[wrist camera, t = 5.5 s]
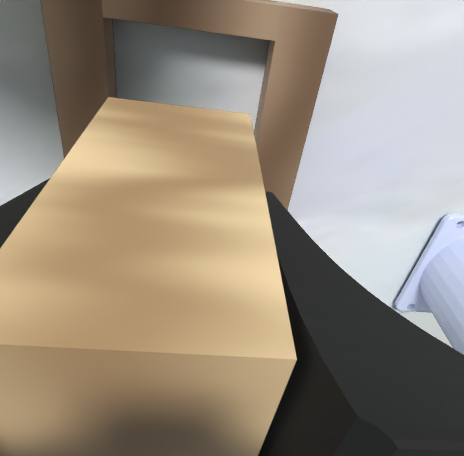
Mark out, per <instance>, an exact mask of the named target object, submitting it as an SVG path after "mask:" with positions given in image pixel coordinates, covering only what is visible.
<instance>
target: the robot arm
mask: <svg viewBox="0 0 464 456" xmlns="http://www.w3.org/2000/svg"><path fill="white" fill-rule="evenodd" d="M49 180H50V179H48V180H46V181H44V182H42V183H41V184H39V185H37V186H35V187H33V188H32V189H30V190H28V191H26V192H25V193H23V194H21V195H19V196H17V197H16V198H14V199H12V200H10V201H9V202H7V203H5V204H3V205H1V206H0V248H1V247H2V245H3V244H4V243H5V241H6V240H7V238H8V237H9V236H10V234H11V233H12V231H13V230H14V229H15V227H16V226H17V224H18V223H19V222H20V220H21V219H22V217H23V216H24V215H25V213H26V212H27V210H28V209H29V208H30V206H31V205H32V203H33V202H34V201H35V199H36V198H37V196H38V195H39V194H40V192H41V191H42V189H43V188H44V187H45V185H46V184H47V182H48V181H49ZM265 194H266V199H267V205H268V210H269V215H270V220H271V226H272V231H273V236H274V241H275V247H276V252H277V257H278V263H279V268H280V273H281V278H282V284H283V289H284V294H285V299H286V305H287V310H288V315H289V320H290V326H291V331H292V336H293V341H294V347H295V352H296V357H297V361H296V363H295V365H294V368H293V370H292V373H291V375H290V378H289V380H288V383H287V385H286V388H285V390H284V393H283V395H282V398H281V400H280V402H279V405H278V407H277V410H276V412H275V415H274V417H273V420H272V422H271V425H270V427H269V430H268V432H267V434H266V437H265V439H264V442H263V444H262V447H261V449H260V452H259V454H258V456H464V214H448V215H446V216H445V217H443V219H442V220H441V222H440V223H439V225H438V227H437V229H436V231H435V232H434V234H433V236H432V238H431V239H430V241H429V243H428V245H427V246H426V248H425V250H424V252H423V254H422V255H421V257H420V259H419V261H418V262H417V264H416V266H415V268H414V269H413V271H412V273H411V275H410V277H409V278H408V280H407V282H406V284H405V285H404V287H403V289H402V291H401V293H400V294H399V296H398V298H397V300H396V301H395V306H396V308H397V309H398V310H401V311H416V312H432V313H433V315H434V317H435V318H436V320H437V322H438V323H439V325H440V327H441V328H442V330H443V332H444V333H445V335H446V337H447V339H448V340H449V342H450V344H451V345H452V347H453V348H451V347H450V346H448V345H447V344H445V343H443V342H442V341H440V340H438V339H437V338H435V337H433V336H432V335H430V334H428V333H427V332H425V331H424V330H422V329H420V328H419V327H418V326H416V325H414V324H413V323H411V322H410V321H409V320H407V319H406V318H404V317H403V316H401V315H400V314H399V313H397V312H396V311H394V310H393V309H392V308H390V307H389V306H387V305H386V304H385V303H383V302H382V301H380V300H379V299H378V298H377V297H375V296H374V295H373V294H371V293H370V292H369V291H367V290H366V289H365V288H364V287H363V286H361V285H360V284H359V283H358V282H357V281H355V280H354V279H353V278H352V277H351V276H349V275H348V274H347V273H346V272H345V271H344V270H343V269H341V268H340V267H339V266H338V265H337V264H336V263H335V262H334V261H333V260H332V259H331V258H330V257H329V256H328V255H327V254H326V253H325V252H324V251H323V250H322V249H321V248H320V247H319V246H318V245H317V244H316V243H315V242H314V241H313V240H312V239H311V238H310V237H309V235H308V234H307V233H306V232H305V231H304V230H303V229H302V228H301V226H300V225H299V224H298V223H297V222H296V221H295V219H294V218H293V217H292V216H291V215H290V213H289V212H288V211H287V210H286V208H285V207H284V206H283V205H282V204H281V202H280V201H279V200H278V199H277V197H276V196H275V195H274V194H273V193H272V192H266V191H265ZM460 221H461V222H460ZM458 222H460V223H459V224H457V223H458Z"/></svg>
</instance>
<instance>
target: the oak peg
mask: <svg viewBox="0 0 464 456" xmlns="http://www.w3.org/2000/svg"><path fill="white" fill-rule="evenodd" d="M296 361H297V357H296V352H295V347H294V341H293V336H292V331H291V326H290V320H289V315H288V310H287V305H286V299H285V294H284V289H283V284H282V278H281V273H280V268H279V263H278V257H277V252H276V247H275V241H274V236H273V231H272V226H271V220H270V215H269V210H268V205H267V199H266V194H265V189H264V184H263V178H262V173H261V168H260V163H259V157H258V152H257V147H256V142H255V136H254V131H253V126H252V121H251V115H250V114H246V113H238V112H229V111H221V110H212V109H204V108H196V107H187V106H179V105H171V104H162V103H154V102H145V101H137V100H129V99H120V98H112V97H108V98H107V100H106V101H105V102H104V104H103V105H102V107H101V108H100V109H99V111H98V112H97V114H96V115H95V116H94V118H93V119H92V121H91V122H90V123H89V125H88V126H87V128H86V129H85V131H84V132H83V133H82V135H81V136H80V138H79V139H78V140H77V142H76V143H75V145H74V146H73V147H72V149H71V150H70V152H69V153H68V154H67V156H66V157H65V159H64V160H63V161H62V163H61V164H60V166H59V167H58V168H57V170H56V171H55V173H54V174H53V175H52V177H51V178H50V180H49V181H48V182H47V184H46V185H45V187H44V188H43V189H42V191H41V192H40V194H39V195H38V196H37V198H36V199H35V201H34V202H33V203H32V205H31V206H30V208H29V209H28V210H27V212H26V213H25V215H24V216H23V217H22V219H21V220H20V222H19V223H18V224H17V226H16V227H15V229H14V230H13V231H12V233H11V234H10V236H9V237H8V238H7V240H6V241H5V243H4V244H3V245H2V247H1V248H0V456H258V454H259V452H260V449H261V447H262V444H263V442H264V439H265V437H266V434H267V432H268V430H269V427H270V425H271V422H272V420H273V417H274V415H275V412H276V410H277V407H278V405H279V402H280V400H281V398H282V395H283V393H284V390H285V388H286V385H287V383H288V380H289V378H290V375H291V373H292V370H293V368H294V365H295V363H296Z"/></svg>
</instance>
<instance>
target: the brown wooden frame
mask: <svg viewBox="0 0 464 456" xmlns="http://www.w3.org/2000/svg"><path fill="white" fill-rule="evenodd" d="M40 1H41V7H42V14H43V21H44V27H45V34H46V41H47V47H48V54H49V61H50V67H51V74H52V80H53V87H54V94H55V100H56V107H57V114H58V120H59V127H60V134H61V140H62V147H63V153H64V159H65V157H66V156H67V154H68V153H69V152H70V150H71V149H72V147H73V146H74V145H75V143H76V142H77V140H78V139H79V138H80V136H81V135H82V133H83V132H84V131H85V129H86V128H87V126H88V125H89V123H90V122H91V121H92V119H93V118H94V116H95V115H96V114H97V112H98V111H99V109H100V108H101V107H102V105H103V104H104V102H105V101H106V100H107V98H108V97H112V98H117V95H116V77H115V58H114V40H113V21H112V19H120V20H127V21H134V22H142V23H149V24H156V25H163V26H171V27H178V28H185V29H192V30H200V31H207V32H214V33H221V34H229V35H236V36H243V37H250V38H258V39H265V40H270V43H269V49H268V54H267V60H266V66H265V72H264V78H263V84H262V89H261V95H260V101H259V107H258V113H257V119H256V124H255V130H254V136H255V142H256V147H257V152H258V157H259V163H260V168H261V173H262V178H263V184H264V189H265V191H266V192H272V193H273V194H274V195H275V196H276V197H277V199H278V200H279V201H280V202H281V204H282V205H283V206H284V207H285V208H286V210H288V206H289V202H290V198H291V194H292V190H293V186H294V183H295V179H296V175H297V171H298V167H299V163H300V160H301V156H302V152H303V148H304V144H305V140H306V136H307V133H308V129H309V125H310V121H311V117H312V113H313V110H314V106H315V102H316V98H317V94H318V90H319V87H320V83H321V79H322V75H323V71H324V67H325V63H326V60H327V56H328V52H329V48H330V44H331V40H332V37H333V33H334V29H335V25H336V21H337V17H338V14H337V13H335V12H333V11H331V10H329V9H324V8H317V7H310V6H304V5H297V4H290V3H283V2H277V1H270V0H40Z"/></svg>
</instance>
